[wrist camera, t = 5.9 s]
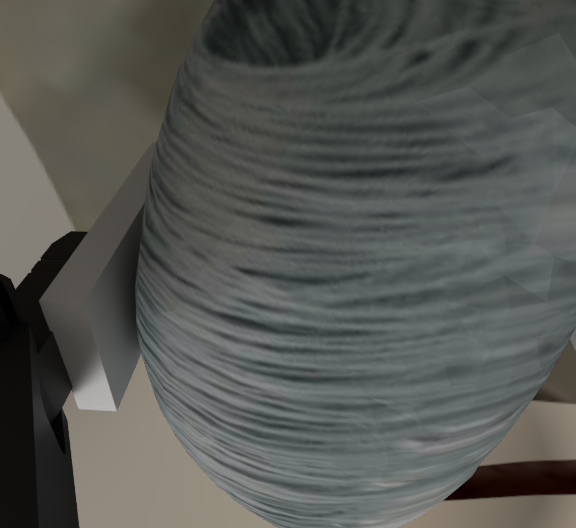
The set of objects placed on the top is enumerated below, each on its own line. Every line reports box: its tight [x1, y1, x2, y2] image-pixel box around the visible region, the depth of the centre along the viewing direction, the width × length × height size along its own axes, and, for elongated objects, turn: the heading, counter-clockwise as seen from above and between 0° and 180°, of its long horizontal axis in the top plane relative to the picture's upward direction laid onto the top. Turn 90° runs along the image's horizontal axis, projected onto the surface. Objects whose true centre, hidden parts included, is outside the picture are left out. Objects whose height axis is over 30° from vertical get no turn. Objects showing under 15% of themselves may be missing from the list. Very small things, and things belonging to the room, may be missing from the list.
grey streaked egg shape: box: [135, 0, 576, 528], centre depth 12 cm, size 14×10×10 cm
